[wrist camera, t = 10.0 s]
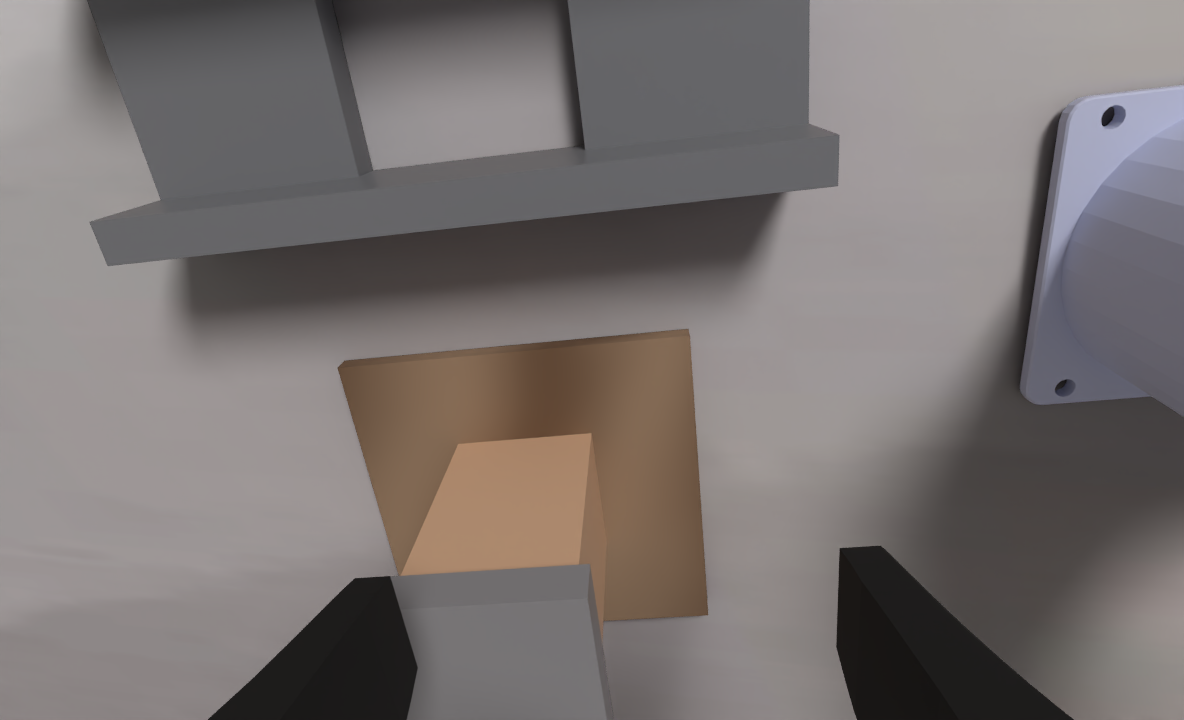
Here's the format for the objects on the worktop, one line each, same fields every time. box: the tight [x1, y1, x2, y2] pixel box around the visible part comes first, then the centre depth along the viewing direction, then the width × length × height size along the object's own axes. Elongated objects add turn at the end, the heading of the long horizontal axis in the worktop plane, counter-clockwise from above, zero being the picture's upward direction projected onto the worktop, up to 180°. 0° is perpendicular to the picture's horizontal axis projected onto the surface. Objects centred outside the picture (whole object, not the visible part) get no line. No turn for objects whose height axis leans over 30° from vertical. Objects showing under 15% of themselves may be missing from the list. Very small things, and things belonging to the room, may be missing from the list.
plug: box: [391, 433, 614, 720], centre depth 18 cm, size 5×5×7 cm
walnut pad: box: [338, 329, 708, 621], centre depth 21 cm, size 10×10×1 cm
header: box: [87, 0, 839, 266], centre depth 15 cm, size 16×8×4 cm, turn 97°
